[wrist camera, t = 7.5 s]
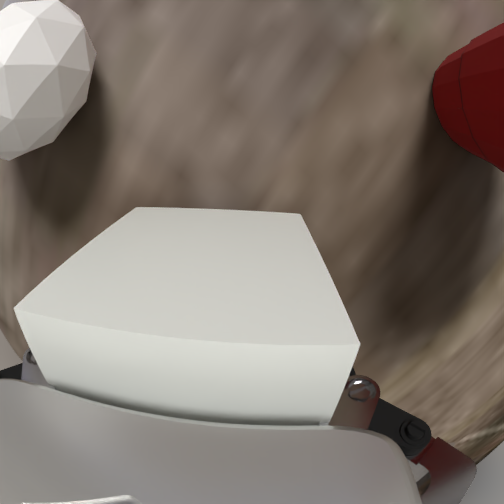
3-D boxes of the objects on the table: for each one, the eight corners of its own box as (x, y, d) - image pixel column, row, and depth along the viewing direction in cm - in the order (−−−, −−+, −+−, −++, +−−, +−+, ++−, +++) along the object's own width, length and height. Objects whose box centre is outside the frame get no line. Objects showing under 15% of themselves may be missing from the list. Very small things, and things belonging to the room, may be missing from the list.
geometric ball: (112, 71, 14) (150, 44, 8) (29, 173, 13) (10, 216, 8) (40, 4, 8) (37, -58, 3) (-48, 110, 8) (-107, 116, 2)
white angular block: (300, 213, 13) (360, 344, 5) (283, 345, 16) (296, 487, 8) (136, 207, 13) (13, 308, 5) (152, 335, 16) (100, 462, 8)
